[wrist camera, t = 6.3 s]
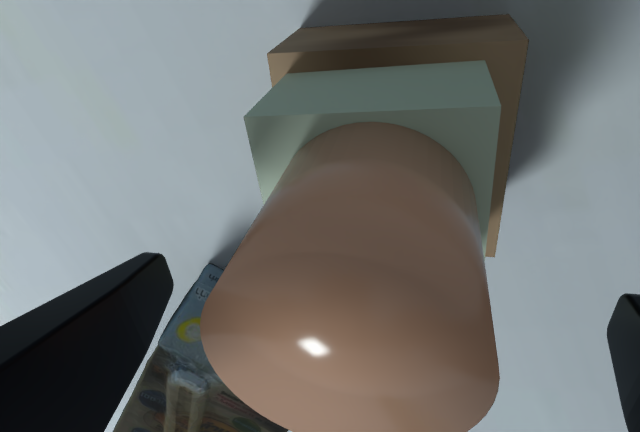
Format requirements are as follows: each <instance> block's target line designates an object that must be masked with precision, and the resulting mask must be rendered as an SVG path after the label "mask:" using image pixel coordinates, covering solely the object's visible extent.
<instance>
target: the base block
mask: <svg viewBox="0 0 640 432" xmlns="http://www.w3.org/2000/svg"><path fill="white" fill-rule="evenodd" d="M528 42H529V39H528V38H527V37H526V35H525V34H524V33H523V32H522V30H521V29H520V28H519V27H518V25H517V24H516V23H515V21H514V20H513V19H512V18H511V16H510V15H509V14H504V15H489V16H474V17H459V18H444V19H429V20H414V21H399V22H385V23H370V24H355V25H340V26H325V27H310V28H299V29H298V30H297V31H296V32H294V33H293V34H292V35H290V36H289V37H288V38H287V39H285V40H284V41H283V42H281V43H280V44H279V45H278V46H276V47H275V48H274V49H272V50H271V51H270V52H269V53H267V57H268V63H269V70H270V76H271V82H272V88H273V87H274V86H275V85H276V84H277V83H278V82H279V81H280V80H281V79H282V78H283V77H284V76H285V75H286V74H287V73H302V72H317V71H331V70H346V69H361V68H375V67H390V66H405V65H420V64H434V63H449V62H464V61H479V60H485V62H486V64H487V67H488V70H489V73H490V76H491V78H492V81H493V84H494V87H495V90H496V92H497V95H498V98H499V101H500V104H501V114H500V123H499V132H498V142H497V151H496V160H495V169H494V179H493V188H492V197H491V207H490V216H489V225H488V234H487V244H486V253H485V257H495V252H496V246H497V239H498V233H499V227H500V220H501V214H502V208H503V201H504V195H505V188H506V182H507V176H508V169H509V163H510V157H511V150H512V144H513V138H514V131H515V125H516V118H517V112H518V106H519V99H520V93H521V87H522V80H523V74H524V68H525V61H526V55H527V48H528Z"/></svg>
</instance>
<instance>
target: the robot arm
mask: <svg viewBox="0 0 640 432" xmlns="http://www.w3.org/2000/svg"><path fill="white" fill-rule="evenodd" d="M173 285H174V284H173V279H172V276H171V273H170V270H169V268H168V265H167V262H166V259H165V257H164V256H163V255H162V254H160V253H149V252H145V253H142V254H140V255H138V256H136V257H134V258H132V259H130V260H128V261H126V262H124V263H122V264H120V265H118V266H116V267H115V268H113V269H111V270H109V271H107V272H105V273H103V274H101V275H99V276H97V277H95V278H93V279H91V280H89V281H87V282H85V283H84V284H82V285H80V286H78V287H76V288H74V289H72V290H70V291H68V292H66V293H64V294H62V295H60V296H58V297H56V298H54V299H53V300H51V301H49V302H47V303H45V304H43V305H41V306H39V307H37V308H35V309H33V310H31V311H29V312H27V313H25V314H23V315H22V316H20V317H18V318H16V319H14V320H12V321H10V322H8V323H6V324H4V325H2V326H0V432H104V431H105V429H106V427H107V425H108V423H109V422H110V420H111V418H112V416H113V414H114V412H115V410H116V409H117V407H118V405H119V403H120V401H121V399H122V398H123V396H124V394H125V392H126V390H127V388H128V387H129V385H130V383H131V381H132V379H133V377H134V375H135V374H136V372H137V370H138V368H139V366H140V364H141V363H142V361H143V359H144V357H145V355H146V353H147V351H148V349H149V346H150V344H151V342H152V340H153V337H154V335H155V332H156V330H157V328H158V325H159V323H160V321H161V318H162V316H163V313H164V311H165V309H166V306H167V304H168V301H169V299H170V297H171V294H172V291H173ZM607 339H608V344H609V349H610V354H611V358H612V363H613V368H614V373H615V377H616V382H617V387H618V392H619V396H620V401H621V406H622V410H623V414H624V418H625V422H626V425H627V429H628V432H640V294H623V295H622V296H621V297H620V298H619V300H618V302H617V305H616V307H615V309H614V312H613V314H612V317H611V319H610V322H609V324H608V328H607Z"/></svg>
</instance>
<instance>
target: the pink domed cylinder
mask: <svg viewBox="0 0 640 432" xmlns="http://www.w3.org/2000/svg"><path fill="white" fill-rule="evenodd" d="M200 334H201V340H202V344H203V348H204V351H205V353H206V356H207V358H208V360H209V362H210V364H211V366H212V367H213V369H214V371H215V372H216V374H217V375H218V376H219V377H220V379H221V380H222V381H223V383H224V384H225V385H226V386H227V387H228V388H229V389H230V390H231V391H232V392H233V393H234V394H235V395H236V396H237V397H238V398H239V399H241V400H242V401H243V402H244V403H245V404H247V405H248V406H249V407H251V408H252V409H253V410H255V411H256V412H258V413H259V414H261V415H262V416H264V417H266V418H267V419H269V420H270V421H272V422H274V423H276V424H278V425H280V426H282V427H284V428H286V429H288V430H291V431H293V432H467V431H468V430H470V429H471V428H472V427H474V426H475V425H477V424H478V423H479V422H480V421H481V420H482V418H483V417H484V416H485V415H486V414H487V413H488V411H489V410H490V408H491V406H492V405H493V403H494V401H495V398H496V395H497V392H498V387H499V379H500V376H499V366H498V358H497V350H496V343H495V336H494V328H493V321H492V314H491V306H490V299H489V292H488V284H487V277H486V270H485V262H484V255H483V248H482V240H481V233H480V226H479V218H478V211H477V204H476V197H475V193H474V190H473V186H472V184H471V182H470V179H469V177H468V175H467V173H466V172H465V170H464V169H463V167H462V166H461V164H460V163H459V162H458V161H457V159H456V158H455V157H454V156H453V155H452V154H451V153H450V152H449V151H448V150H447V149H445V148H444V147H443V146H442V145H441V144H439V143H438V142H436V141H435V140H433V139H431V138H430V137H428V136H426V135H424V134H422V133H420V132H418V131H416V130H413V129H410V128H407V127H404V126H401V125H395V124H390V123H383V122H357V123H352V124H346V125H342V126H339V127H336V128H333V129H330V130H328V131H326V132H324V133H322V134H319V135H318V136H316V137H315V138H313V139H312V140H310V141H309V142H307V143H306V144H305V145H304V146H303V147H302V148H301V149H300V150H299V151H298V152H297V153H296V154H295V156H294V157H293V158H292V159H291V161H290V163H289V164H288V166H287V168H286V169H285V171H284V173H283V174H282V176H281V178H280V179H279V181H278V183H277V184H276V186H275V187H274V189H273V191H272V192H271V194H270V196H269V197H268V199H267V201H266V202H265V204H264V206H263V207H262V209H261V211H260V212H259V214H258V216H257V217H256V219H255V220H254V222H253V224H252V225H251V227H250V229H249V230H248V232H247V234H246V235H245V237H244V239H243V240H242V242H241V244H240V245H239V247H238V248H237V250H236V252H235V253H234V255H233V257H232V258H231V260H230V262H229V263H228V265H227V267H226V268H225V270H224V272H223V273H222V275H221V277H220V278H219V280H218V281H217V283H216V285H215V286H214V288H213V290H212V291H211V293H210V295H209V296H208V298H207V300H206V302H205V304H204V307H203V310H202V313H201V320H200Z"/></svg>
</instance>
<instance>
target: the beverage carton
mask: <svg viewBox="0 0 640 432" xmlns="http://www.w3.org/2000/svg"><path fill="white" fill-rule="evenodd" d="M223 272H224V270H222V269H220V268H218V267H216V266H214V265H212V264H208V265H206V267H205V268H204V269H203V271H202V273H201V275H200V276H199V278H198V280H197V281H196V282H195V283H194V284H193V286H192V287H191V289H190V290H189V292H188V293H187V294H186V296H185V297H184V299H183V301H182V302H181V304H180V305H179V307H178V308H177V310H176V311H175V313H174V314H173V316H172V317H171V319H170V321H169V322H168V324H167V326H166V328H165V330H164V331H163V333H162V335H161V337H160V339H159V342H158V346H157V347H156V349H155V351H154V352H153V354H152V355H151V357H150V358H149V360H148V361H147V363H146V366H145V369H144V370H143V372H142V374H141V376H140V378H139V380H138V382H137V384H136V387H135V389H134V391H133V393H132V395H131V397H130V399H129V401H128V403H127V404H126V406H125V408H124V410H123V412H122V414H121V416H120V418H119V420H118V422H117V424H116V426H115V428H114V430H113V432H287V431H288V429H286V428H284V427H282V426H280V425H278V424H276V423H274V422H272V421H270V420H269V419H267V418H266V417H264V416H262V415H261V414H259V413H258V412H256V411H255V410H253V409H252V408H251V407H249V406H248V405H247V404H245V403H244V402H243V401H242V400H241V399H239V398H238V397H237V396H236V395H235V394H234V393H233V392H232V391H231V390H230V389H229V388H228V387H227V386H226V385H225V384H224V383H223V381H222V380H221V379H220V377H219V376H218V375H217V374H216V372H215V371H214V369H213V367H212V366H211V364H210V362H209V360H208V358H207V356H206V353H205V351H204V348H203V344H202V340H201V334H200V320H201V313H202V310H203V307H204V304H205V302H206V300H207V298H208V296H209V295H210V293H211V291H212V290H213V288H214V286H215V285H216V283H217V281H218V280H219V278H220V277H221V275H222V273H223Z"/></svg>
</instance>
